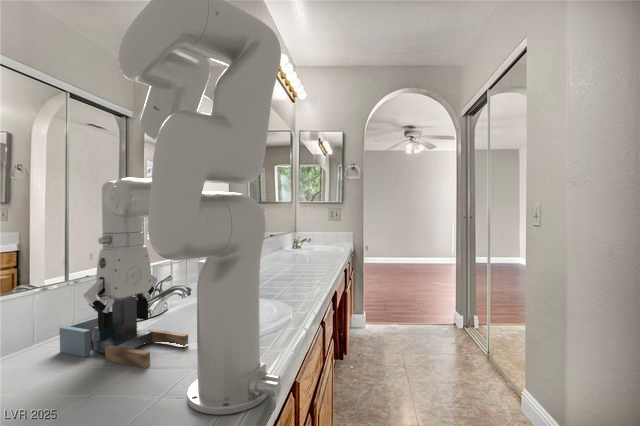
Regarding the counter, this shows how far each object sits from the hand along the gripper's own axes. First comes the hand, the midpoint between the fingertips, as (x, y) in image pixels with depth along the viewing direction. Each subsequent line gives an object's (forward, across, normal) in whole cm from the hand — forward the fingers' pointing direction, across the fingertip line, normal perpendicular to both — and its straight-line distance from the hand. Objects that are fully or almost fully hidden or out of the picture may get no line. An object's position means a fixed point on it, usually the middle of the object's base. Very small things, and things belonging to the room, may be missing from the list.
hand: (124, 324), depth 78 cm
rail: (+5, 0, -6) cm, 8 cm away
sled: (+5, 0, +1) cm, 5 cm away
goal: (+5, 0, +6) cm, 8 cm away
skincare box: (+5, +27, -2) cm, 28 cm away
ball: (+3, 0, +6) cm, 7 cm away
